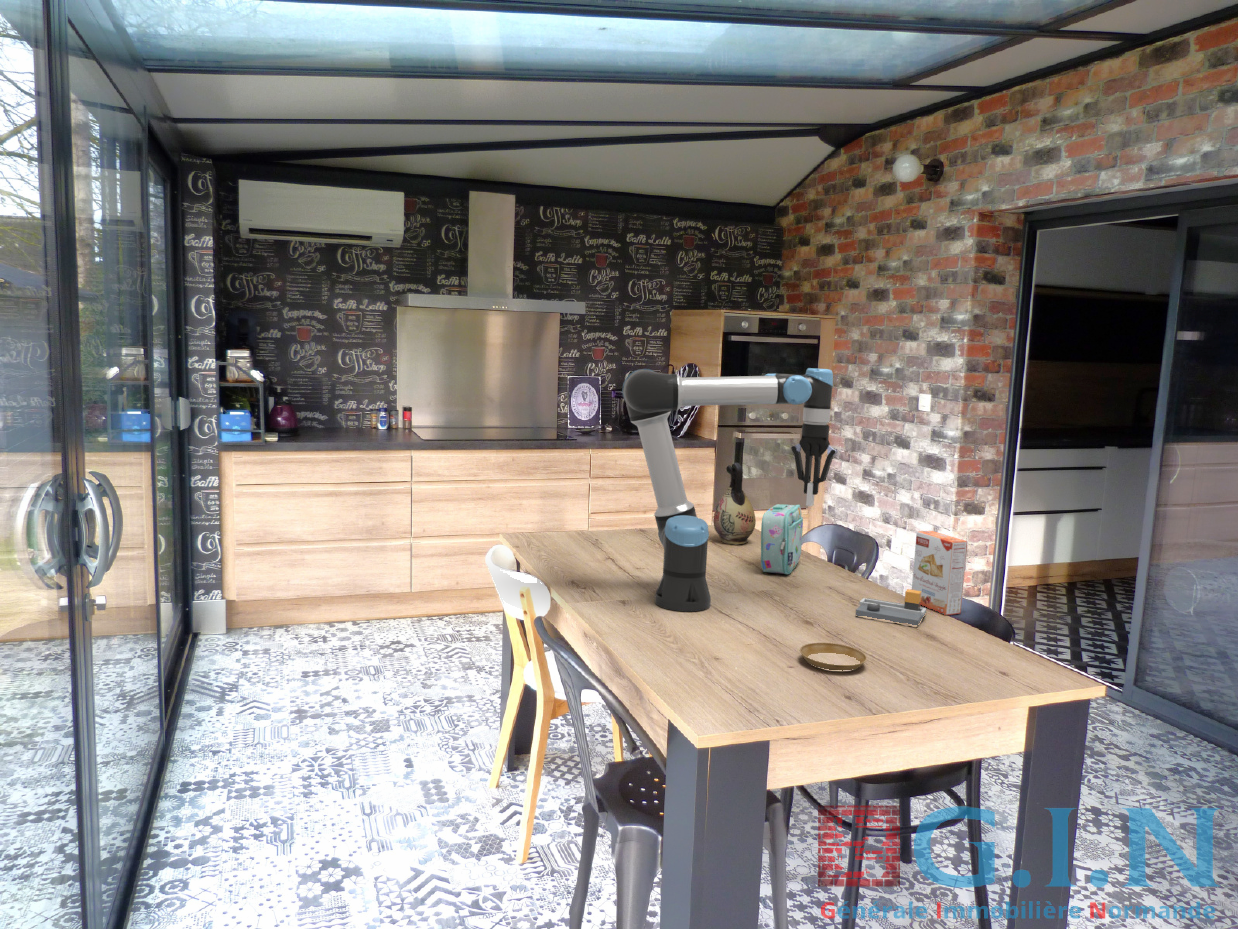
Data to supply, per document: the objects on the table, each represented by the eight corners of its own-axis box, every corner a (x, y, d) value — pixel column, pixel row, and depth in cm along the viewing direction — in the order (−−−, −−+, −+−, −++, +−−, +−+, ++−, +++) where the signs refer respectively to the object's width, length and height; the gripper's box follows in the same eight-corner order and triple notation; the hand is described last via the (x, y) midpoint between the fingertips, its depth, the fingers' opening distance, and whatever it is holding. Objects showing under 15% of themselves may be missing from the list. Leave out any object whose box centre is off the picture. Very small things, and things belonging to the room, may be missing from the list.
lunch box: (789, 580, 273) (794, 511, 270) (756, 575, 276) (761, 508, 273) (802, 562, 298) (806, 499, 295) (771, 558, 301) (776, 496, 298)
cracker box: (909, 602, 254) (915, 530, 251) (925, 600, 256) (931, 529, 253) (944, 616, 241) (951, 541, 238) (961, 614, 243) (968, 540, 241)
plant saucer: (879, 674, 194) (880, 663, 194) (819, 678, 190) (820, 666, 190) (844, 651, 208) (845, 641, 208) (787, 655, 204) (788, 644, 204)
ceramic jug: (707, 537, 331) (712, 458, 327) (748, 538, 333) (753, 459, 329) (717, 547, 314) (723, 464, 310) (760, 548, 316) (765, 465, 312)
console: (918, 628, 229) (920, 614, 228) (853, 616, 236) (854, 603, 236) (927, 615, 241) (928, 602, 240) (865, 604, 249) (866, 591, 248)
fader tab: (917, 612, 235) (919, 593, 234) (903, 610, 236) (905, 591, 236) (919, 610, 237) (921, 591, 237) (906, 607, 239) (907, 589, 238)
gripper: (842, 424, 250) (835, 506, 253) (797, 420, 256) (791, 501, 259) (835, 425, 243) (829, 510, 246) (789, 422, 249) (783, 504, 252)
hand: (809, 505), depth 252 cm, fingers closed
